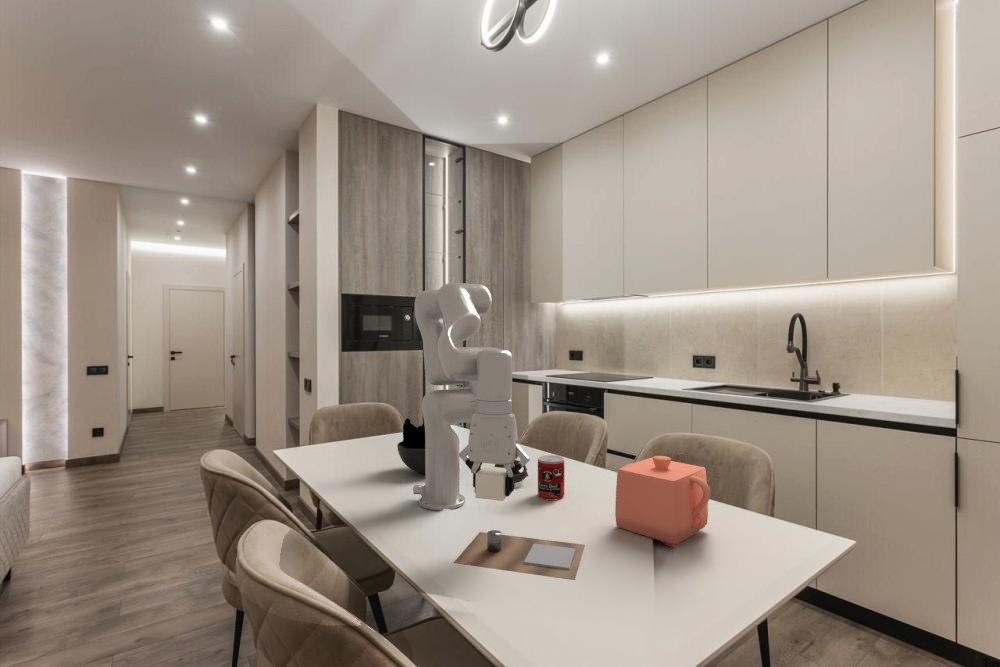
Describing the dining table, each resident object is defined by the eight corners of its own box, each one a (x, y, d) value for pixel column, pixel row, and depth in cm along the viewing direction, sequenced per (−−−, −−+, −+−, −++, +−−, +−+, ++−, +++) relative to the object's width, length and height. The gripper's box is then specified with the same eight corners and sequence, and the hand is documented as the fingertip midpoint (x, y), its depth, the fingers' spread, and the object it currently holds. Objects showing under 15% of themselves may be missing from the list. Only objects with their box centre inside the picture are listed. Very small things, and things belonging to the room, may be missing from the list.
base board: (453, 570, 96) (453, 562, 96) (479, 538, 111) (479, 532, 111) (574, 587, 89) (574, 579, 89) (585, 551, 104) (585, 544, 104)
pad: (523, 563, 96) (523, 561, 96) (533, 545, 104) (533, 543, 104) (569, 570, 93) (569, 567, 93) (575, 550, 102) (575, 548, 102)
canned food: (534, 498, 140) (534, 460, 140) (542, 490, 147) (542, 454, 147) (560, 501, 137) (560, 462, 137) (567, 493, 144) (567, 456, 144)
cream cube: (475, 497, 101) (475, 473, 101) (484, 488, 106) (484, 466, 106) (503, 501, 99) (503, 476, 99) (510, 491, 105) (511, 468, 105)
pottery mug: (531, 481, 159) (533, 462, 155) (519, 501, 151) (520, 482, 147) (499, 468, 163) (500, 449, 159) (485, 486, 156) (486, 468, 152)
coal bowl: (463, 466, 175) (463, 414, 175) (444, 482, 156) (444, 423, 156) (411, 463, 180) (411, 412, 180) (387, 478, 160) (387, 421, 160)
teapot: (651, 505, 134) (651, 440, 135) (737, 527, 118) (736, 453, 118) (600, 529, 117) (600, 455, 117) (692, 559, 101) (691, 473, 101)
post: (485, 551, 101) (485, 534, 101) (489, 545, 104) (489, 529, 104) (499, 553, 100) (499, 536, 100) (503, 547, 103) (503, 531, 103)
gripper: (449, 408, 101) (448, 494, 101) (529, 412, 96) (529, 503, 97) (462, 403, 109) (461, 483, 109) (537, 407, 104) (537, 491, 104)
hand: (493, 491), depth 103 cm, fingers closed on cream cube, 6 cm apart
